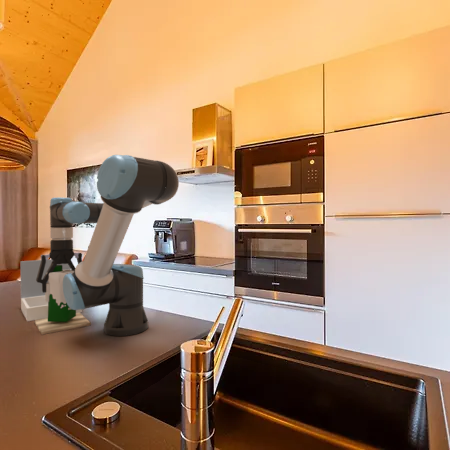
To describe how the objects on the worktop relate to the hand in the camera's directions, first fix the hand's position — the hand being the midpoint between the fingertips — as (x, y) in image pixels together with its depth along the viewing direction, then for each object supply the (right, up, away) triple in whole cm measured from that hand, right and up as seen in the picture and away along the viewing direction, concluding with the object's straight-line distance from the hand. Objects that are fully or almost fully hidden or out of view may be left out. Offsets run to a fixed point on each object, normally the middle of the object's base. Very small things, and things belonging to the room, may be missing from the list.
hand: (62, 298), depth 120 cm
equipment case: (-16, -9, +20) cm, 27 cm away
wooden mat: (0, -10, 0) cm, 10 cm away
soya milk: (0, -8, 0) cm, 8 cm away
